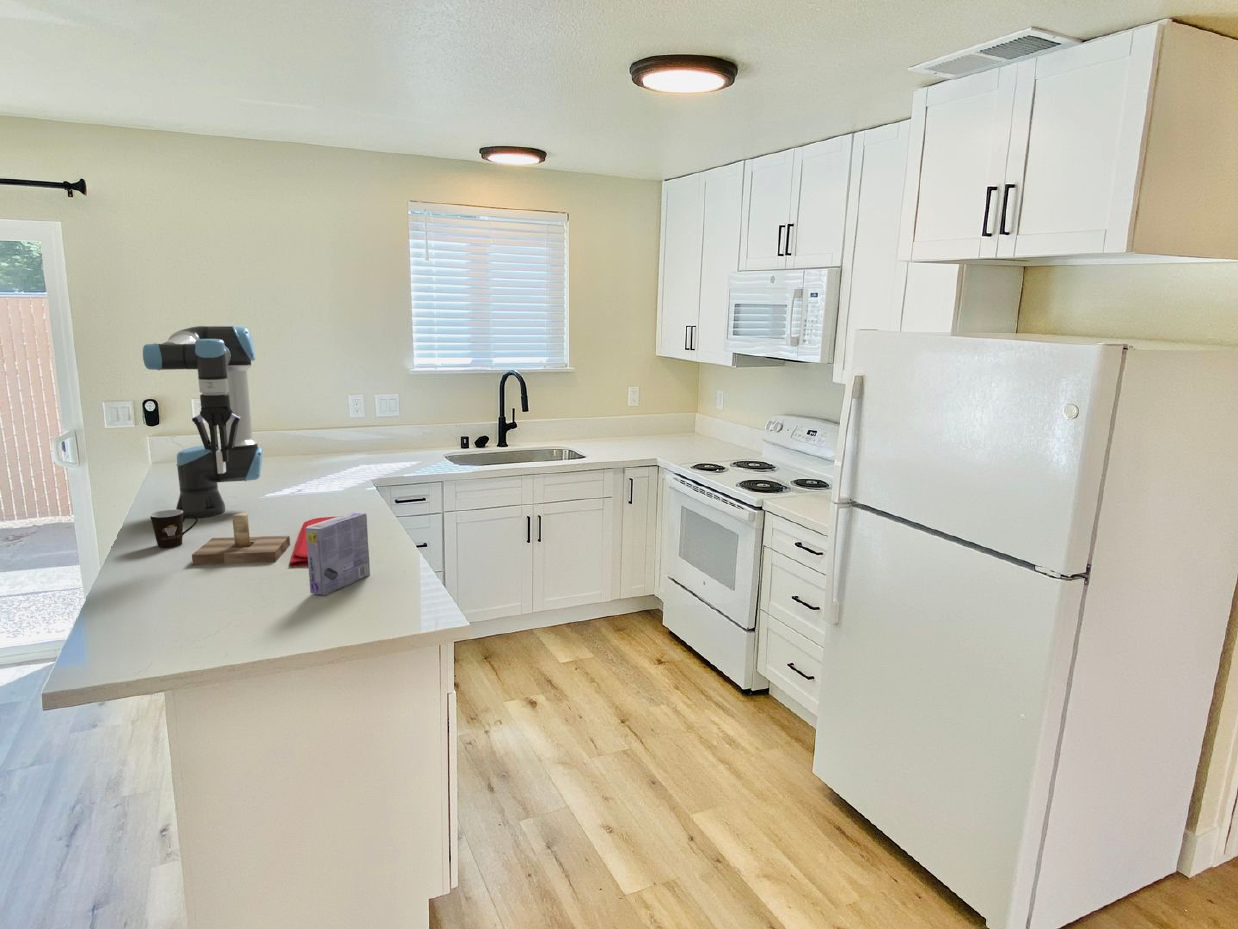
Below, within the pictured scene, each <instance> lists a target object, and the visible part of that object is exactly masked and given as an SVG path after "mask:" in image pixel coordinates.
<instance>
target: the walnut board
mask: <svg viewBox="0 0 1238 929" xmlns="http://www.w3.org/2000/svg"><path fill="white" fill-rule="evenodd" d="M250 543H251V545H250V546H249V547H241V548H236V547H235V540H234V536H233V537H231V536H230V537H212V538H210V539H209V540H208V541H207V542H206V543H204V544H203V545H202V546H201V547H199V548H198V549H197V550H195V551H194V553H192V554H191V559H192V566H201V565H204V566H205V565H227V564H228V565H230V564H231V565H233V564H253V563H254V564H255V563H256V564H257V563H258V564H260V563H276V562H277V561H278V560H279V559H280V558H281V556H282V555H283V554H284V553H285V552H286V551H287V549H288V548H289V547H290V546H291V538H290V535H267V536H250Z"/></svg>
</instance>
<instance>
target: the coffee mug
mask: <svg viewBox="0 0 1238 929" xmlns="http://www.w3.org/2000/svg"><path fill="white" fill-rule="evenodd" d="M188 516H194V517H195V521H194V523H193V524H192V525H190V526H189V527H188V528H187V529H185V530H184V529H183V528H184V522H185V520H186V519H187V518H186V517H188ZM149 517H150V520H151V521H150V522H151V524H152V525H151V526H152V529H153V533H154V536H155V540H156V544H157V547H158V549H172V548H178V547H180V546H183V536H184V534H186V533H187V532H189V531H190V530H191V529H193V528H194V527H195V526H196V524H197V523H198V518H197V516H196V515H194V514H188V515H185V516H184V517H183V511H181V510H176V509H167V510H166V509H165V510H160V511H155V512H152V513H150V514H149ZM183 530H184V531H183Z"/></svg>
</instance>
